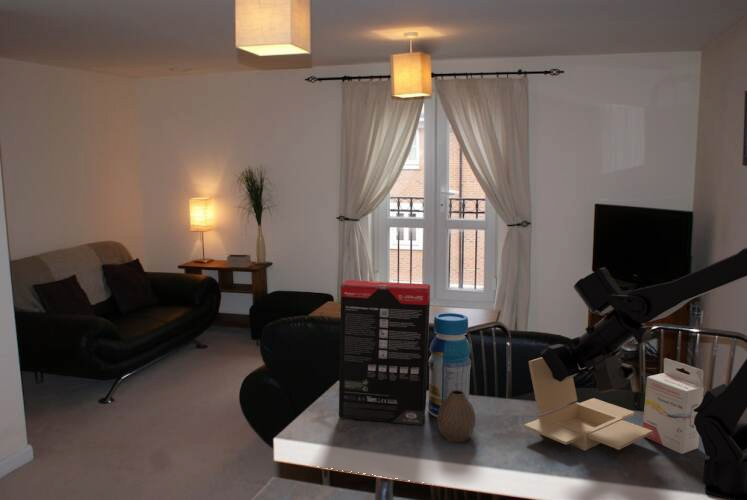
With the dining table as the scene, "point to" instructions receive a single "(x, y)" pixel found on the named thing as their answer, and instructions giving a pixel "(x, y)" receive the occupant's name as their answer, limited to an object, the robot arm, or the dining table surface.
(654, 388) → the ink cartridge box
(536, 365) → the flap
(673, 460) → the dining table surface
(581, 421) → the carton
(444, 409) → the vase
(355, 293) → the graphics card box
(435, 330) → the beverage bottle
